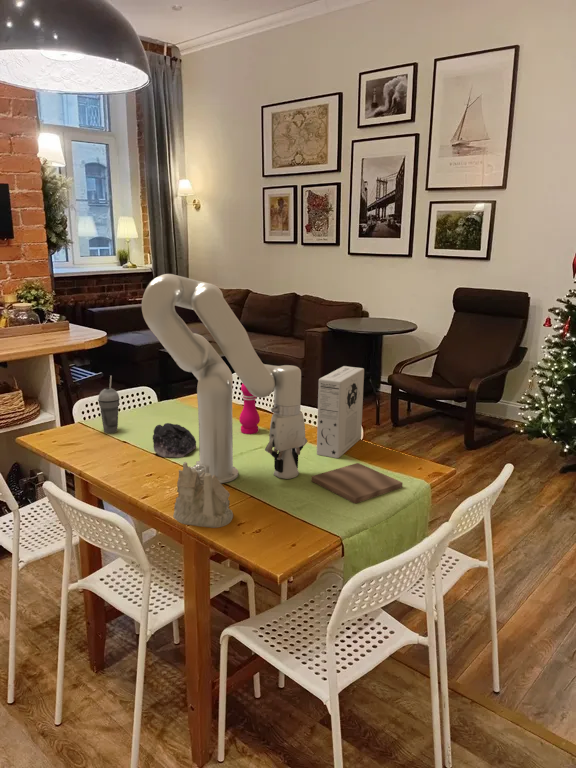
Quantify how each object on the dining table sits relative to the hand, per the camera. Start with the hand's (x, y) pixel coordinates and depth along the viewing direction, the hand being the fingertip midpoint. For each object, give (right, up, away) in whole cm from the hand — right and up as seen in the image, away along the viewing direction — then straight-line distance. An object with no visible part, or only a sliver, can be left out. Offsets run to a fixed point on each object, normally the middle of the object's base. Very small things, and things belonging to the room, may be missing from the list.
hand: (286, 468), depth 174 cm
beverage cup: (-62, +8, +36) cm, 72 cm away
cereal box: (+18, +4, +24) cm, 30 cm away
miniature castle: (-20, -8, -23) cm, 32 cm away
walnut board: (+20, -4, -6) cm, 21 cm away
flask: (0, -2, +1) cm, 2 cm away
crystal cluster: (-36, +3, +18) cm, 40 cm away
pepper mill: (-13, +8, +38) cm, 41 cm away
